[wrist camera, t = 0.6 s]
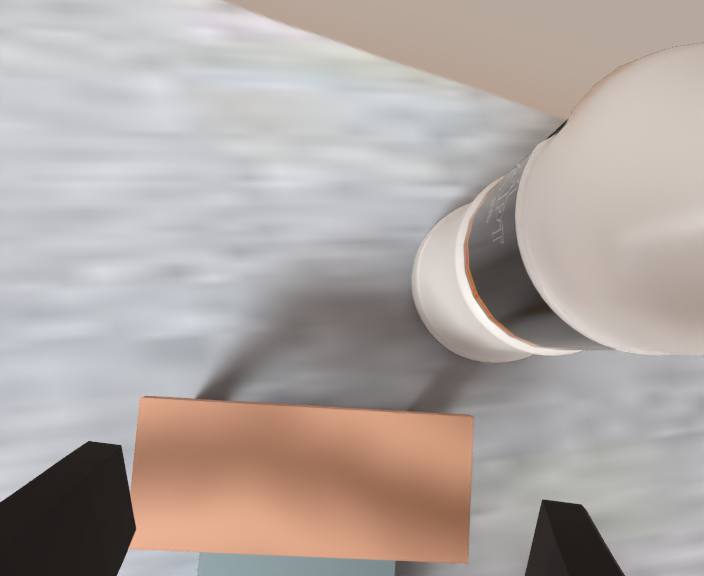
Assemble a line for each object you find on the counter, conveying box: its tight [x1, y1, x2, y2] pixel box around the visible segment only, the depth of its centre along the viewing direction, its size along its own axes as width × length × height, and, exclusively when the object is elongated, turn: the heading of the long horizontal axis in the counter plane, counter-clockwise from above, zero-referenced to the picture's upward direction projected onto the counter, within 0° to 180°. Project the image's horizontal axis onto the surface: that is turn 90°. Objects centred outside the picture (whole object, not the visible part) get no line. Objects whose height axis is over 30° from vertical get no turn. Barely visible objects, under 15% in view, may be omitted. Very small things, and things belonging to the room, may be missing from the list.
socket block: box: [198, 552, 396, 576], centre depth 32 cm, size 13×10×3 cm
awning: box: [128, 396, 474, 564], centre depth 30 cm, size 6×14×10 cm, turn 86°
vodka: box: [411, 43, 704, 363], centre depth 21 cm, size 9×9×30 cm
